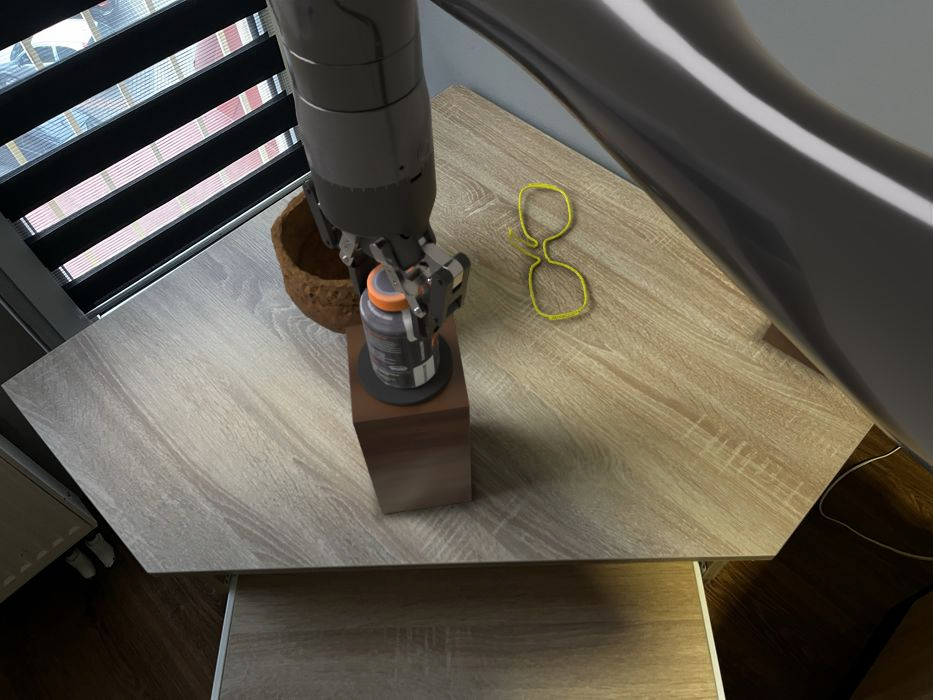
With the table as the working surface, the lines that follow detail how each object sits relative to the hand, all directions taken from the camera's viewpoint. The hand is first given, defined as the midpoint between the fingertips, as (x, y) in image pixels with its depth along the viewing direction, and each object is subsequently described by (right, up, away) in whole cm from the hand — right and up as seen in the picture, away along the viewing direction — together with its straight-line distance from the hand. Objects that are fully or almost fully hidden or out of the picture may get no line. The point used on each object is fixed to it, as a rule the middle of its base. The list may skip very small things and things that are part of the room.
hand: (397, 310), depth 55 cm
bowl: (-8, +3, +38) cm, 39 cm away
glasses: (+16, +10, +43) cm, 47 cm away
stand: (0, -17, +25) cm, 30 cm away
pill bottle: (0, -4, +6) cm, 8 cm away
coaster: (0, -4, +7) cm, 8 cm away
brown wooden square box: (+50, -1, +34) cm, 60 cm away
